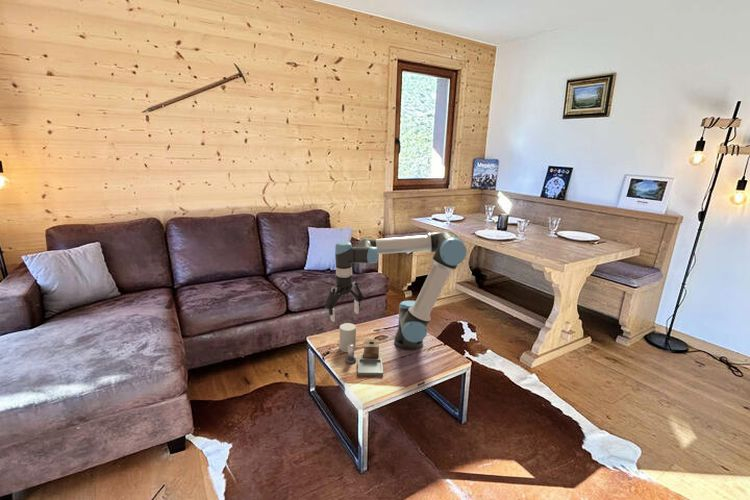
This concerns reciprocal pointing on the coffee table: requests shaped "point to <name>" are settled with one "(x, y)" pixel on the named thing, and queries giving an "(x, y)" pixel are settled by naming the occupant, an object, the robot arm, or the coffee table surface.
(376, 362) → the tray
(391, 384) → the coffee table surface
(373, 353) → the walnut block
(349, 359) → the post
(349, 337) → the cup
